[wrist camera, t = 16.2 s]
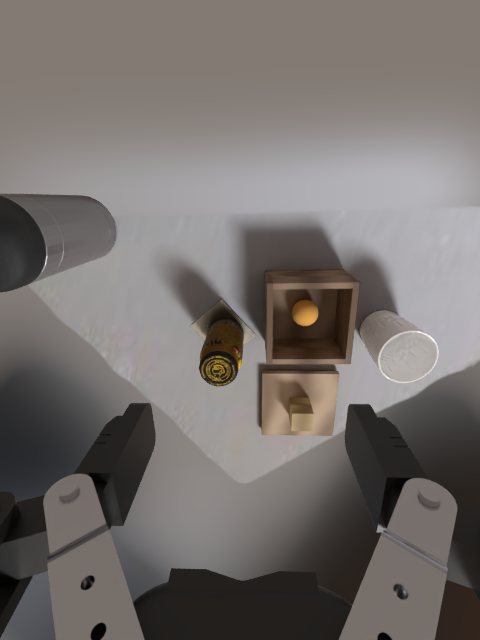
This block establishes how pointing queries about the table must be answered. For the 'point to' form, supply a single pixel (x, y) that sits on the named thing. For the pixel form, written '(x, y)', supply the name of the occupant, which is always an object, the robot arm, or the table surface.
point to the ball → (305, 312)
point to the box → (326, 332)
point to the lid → (299, 402)
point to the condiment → (221, 343)
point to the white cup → (398, 346)
